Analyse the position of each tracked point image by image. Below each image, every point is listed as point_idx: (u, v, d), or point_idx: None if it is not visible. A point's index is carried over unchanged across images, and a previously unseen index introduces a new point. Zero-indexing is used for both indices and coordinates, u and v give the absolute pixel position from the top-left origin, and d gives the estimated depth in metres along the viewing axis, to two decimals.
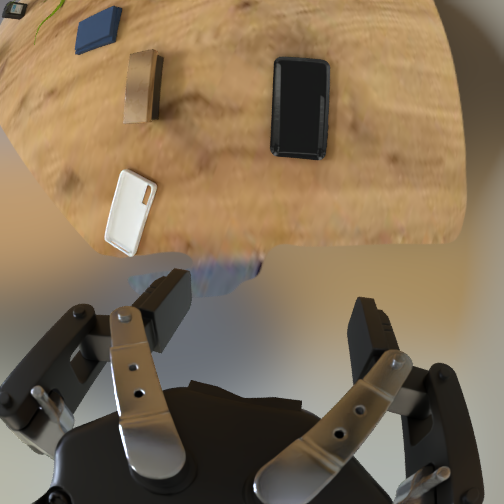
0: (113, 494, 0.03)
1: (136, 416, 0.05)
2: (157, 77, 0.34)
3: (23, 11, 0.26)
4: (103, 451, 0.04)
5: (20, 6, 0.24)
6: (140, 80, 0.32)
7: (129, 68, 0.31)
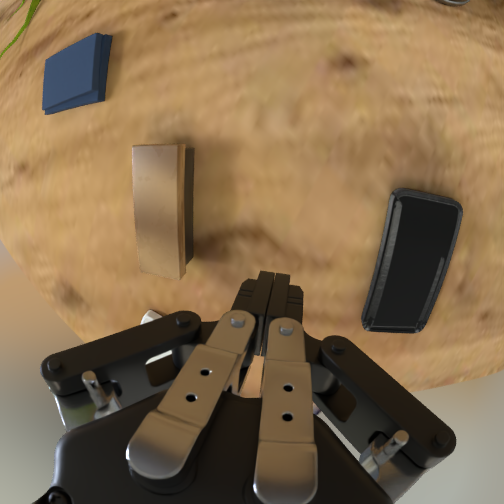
0: (113, 494, 0.03)
1: (170, 415, 0.05)
2: (187, 192, 0.24)
3: None
4: (102, 464, 0.04)
5: None
6: (159, 206, 0.22)
7: (135, 176, 0.21)
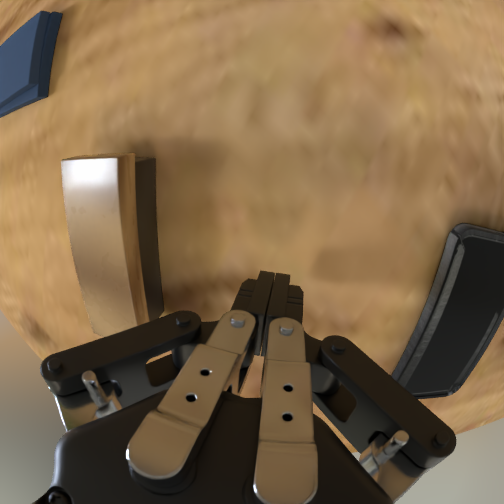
0: (113, 494, 0.03)
1: (170, 415, 0.05)
2: (146, 226, 0.15)
3: None
4: (103, 464, 0.04)
5: None
6: (102, 252, 0.13)
7: (67, 205, 0.13)
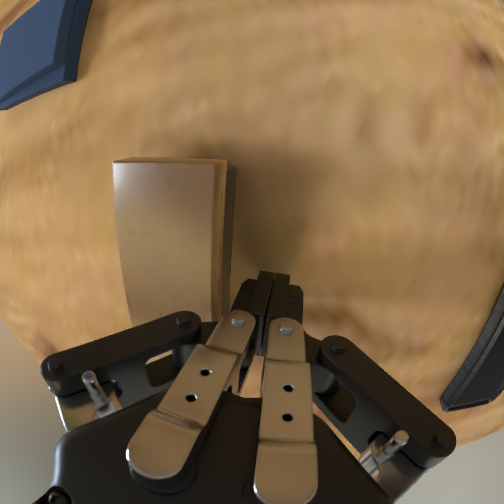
0: (113, 494, 0.03)
1: (170, 415, 0.05)
2: (225, 252, 0.13)
3: None
4: (103, 464, 0.04)
5: None
6: (174, 288, 0.11)
7: (120, 224, 0.10)
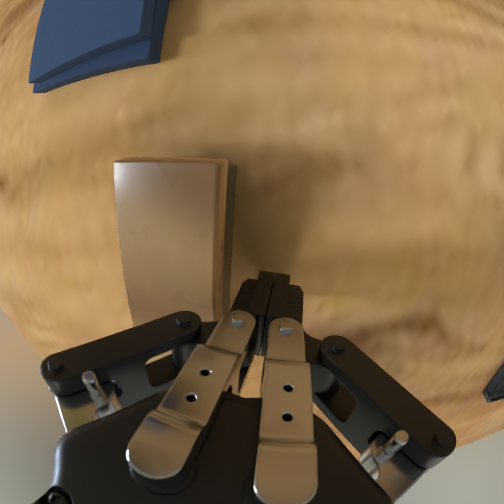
0: (113, 494, 0.03)
1: (170, 415, 0.05)
2: (226, 251, 0.13)
3: None
4: (103, 464, 0.04)
5: None
6: (176, 287, 0.11)
7: (122, 224, 0.10)
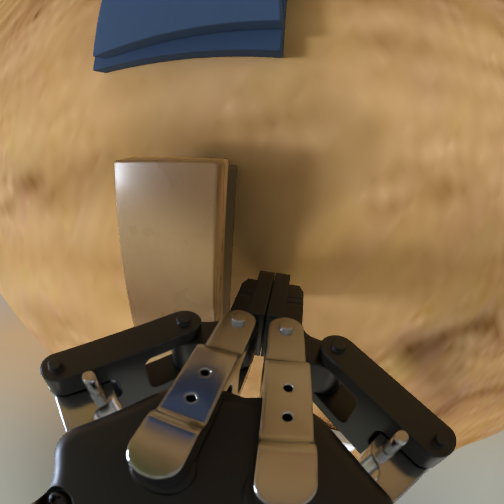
0: (113, 494, 0.03)
1: (170, 415, 0.05)
2: (226, 250, 0.13)
3: None
4: (103, 464, 0.04)
5: None
6: (177, 287, 0.11)
7: (122, 224, 0.10)
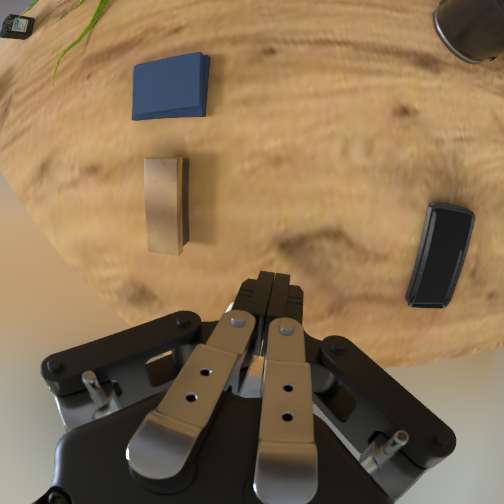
0: (113, 494, 0.03)
1: (170, 415, 0.05)
2: (184, 191, 0.32)
3: (29, 28, 0.24)
4: (103, 464, 0.04)
5: (25, 21, 0.21)
6: (164, 201, 0.31)
7: (146, 180, 0.30)
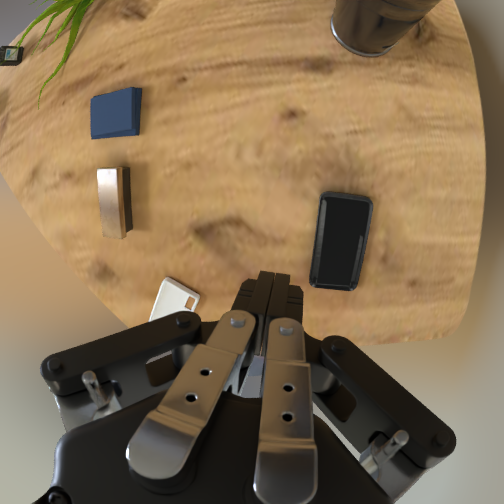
0: (113, 494, 0.03)
1: (170, 415, 0.05)
2: (126, 191, 0.41)
3: (19, 56, 0.32)
4: (103, 464, 0.04)
5: None
6: (110, 199, 0.39)
7: (99, 184, 0.39)
